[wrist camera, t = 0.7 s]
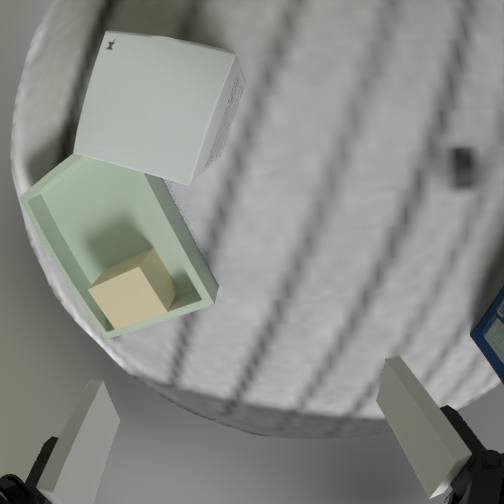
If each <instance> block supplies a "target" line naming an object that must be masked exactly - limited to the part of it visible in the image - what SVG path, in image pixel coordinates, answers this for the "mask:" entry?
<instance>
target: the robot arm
mask: <svg viewBox="0 0 504 504" xmlns="http://www.w3.org/2000/svg"><path fill="white" fill-rule="evenodd" d="M376 401H377V403H378V405H379V406H380V408H381V410H382V412H383V414H384V415H385V417H386V419H387V421H388V423H389V424H390V426H391V428H392V430H393V432H394V434H395V435H396V437H397V439H398V441H399V443H400V445H401V446H402V448H403V450H404V452H405V454H406V456H407V458H408V459H409V461H410V463H411V465H412V467H413V469H414V471H415V473H416V475H417V477H418V479H419V481H420V482H421V484H422V486H423V488H424V490H425V492H426V494H427V496H428V498H429V499H430V498H432V497H435V496H437V495H439V494H441V493H443V492H445V491H446V489H447V488H448V487H449V486H450V485H451V487H452V489H453V490H452V492H451V493H450V494H449V495H448V496H447V498H446V499H445V501H444V502H445V503H446V502H447V501H448V500H449V501H448V504H504V453H502V454H500V453H498V452H497V451H494V450H486V449H485V448H484V446H483V445H482V444H481V442H480V441H479V440H478V439H477V437H476V436H475V434H474V433H473V432H472V430H471V429H470V428H469V427H468V426H467V424H466V422H465V421H464V420H463V418H462V417H461V416H460V415H459V413H458V412H457V411H456V410H454V409H453V408H451V407H450V406H448V405H446V406H444V407H441V408H439V407H438V406H437V404H436V403H435V402H434V400H433V399H432V398H431V396H430V395H429V394H428V392H427V391H426V390H425V388H424V387H423V386H422V384H421V383H420V382H419V381H418V379H417V378H416V377H415V375H414V374H413V373H412V371H411V370H410V369H409V368H408V366H407V365H406V364H405V362H404V361H403V360H402V359H401V357H400V356H397V357H392V358H388V359H385V364H384V369H383V374H382V378H381V383H380V387H379V391H378V395H377V400H376ZM119 422H120V420H119V417H118V415H117V413H116V411H115V408H114V406H113V404H112V402H111V399H110V397H109V395H108V392H107V390H106V388H105V385H104V382H103V381H98V380H89V381H88V383H87V385H86V387H85V388H84V390H83V392H82V394H81V396H80V398H79V400H78V401H77V404H76V405H75V407H74V409H73V411H72V413H71V415H70V417H69V419H68V421H67V423H66V425H65V427H64V429H63V431H62V433H61V435H60V437H59V438H56V437H51V438H50V439H49V440H47V441H46V442H45V443H44V445H43V447H42V449H41V451H40V454H39V455H38V457H37V461H35V463H34V465H33V467H32V469H31V471H30V474H29V476H28V478H27V480H26V482H25V483H24V482H23V481H22V480H21V479H20V478H19V477H18V476H16V475H13V474H7V475H4V476H2V477H1V478H0V504H93V503H94V499H95V496H96V492H97V489H98V486H99V483H100V479H101V476H102V473H103V469H104V467H105V463H106V460H107V457H108V454H109V451H110V448H111V445H112V442H113V439H114V436H115V433H116V431H117V428H118V425H119Z"/></svg>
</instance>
